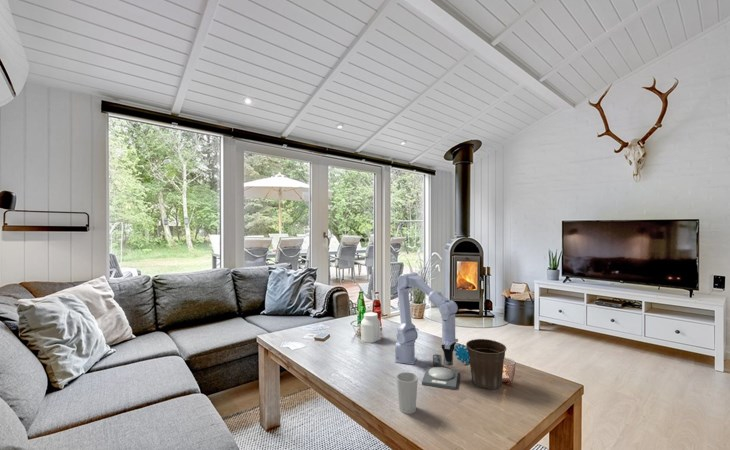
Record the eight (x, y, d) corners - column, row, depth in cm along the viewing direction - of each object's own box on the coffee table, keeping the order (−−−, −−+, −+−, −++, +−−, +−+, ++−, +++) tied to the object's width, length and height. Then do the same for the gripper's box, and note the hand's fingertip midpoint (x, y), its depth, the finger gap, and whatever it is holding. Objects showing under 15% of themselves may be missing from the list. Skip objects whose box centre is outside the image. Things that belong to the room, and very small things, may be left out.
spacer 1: (432, 367, 159) (432, 357, 158) (433, 364, 162) (433, 353, 162) (441, 368, 157) (440, 358, 157) (442, 365, 161) (441, 354, 161)
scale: (421, 384, 142) (421, 379, 142) (427, 368, 157) (427, 364, 157) (455, 389, 138) (455, 384, 138) (458, 372, 153) (458, 368, 153)
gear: (461, 363, 159) (452, 343, 166) (454, 368, 163) (446, 349, 169) (478, 361, 164) (469, 342, 171) (471, 367, 167) (462, 348, 174)
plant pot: (487, 396, 132) (487, 356, 132) (458, 379, 146) (458, 343, 146) (515, 386, 140) (514, 348, 139) (485, 371, 154) (484, 336, 154)
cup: (395, 403, 128) (394, 372, 127) (415, 402, 128) (415, 371, 128) (398, 415, 120) (398, 382, 120) (420, 414, 120) (420, 381, 120)
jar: (370, 344, 190) (369, 317, 190) (358, 340, 196) (358, 314, 196) (383, 338, 198) (383, 313, 198) (371, 334, 205) (371, 310, 205)
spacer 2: (451, 366, 145) (451, 354, 145) (442, 364, 147) (442, 353, 147) (454, 362, 149) (453, 351, 148) (445, 360, 150) (444, 349, 150)
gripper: (456, 335, 139) (457, 367, 139) (459, 324, 153) (459, 354, 153) (439, 333, 142) (440, 365, 142) (443, 323, 155) (443, 352, 155)
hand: (449, 359), depth 148 cm, fingers closed on spacer 2, 4 cm apart
